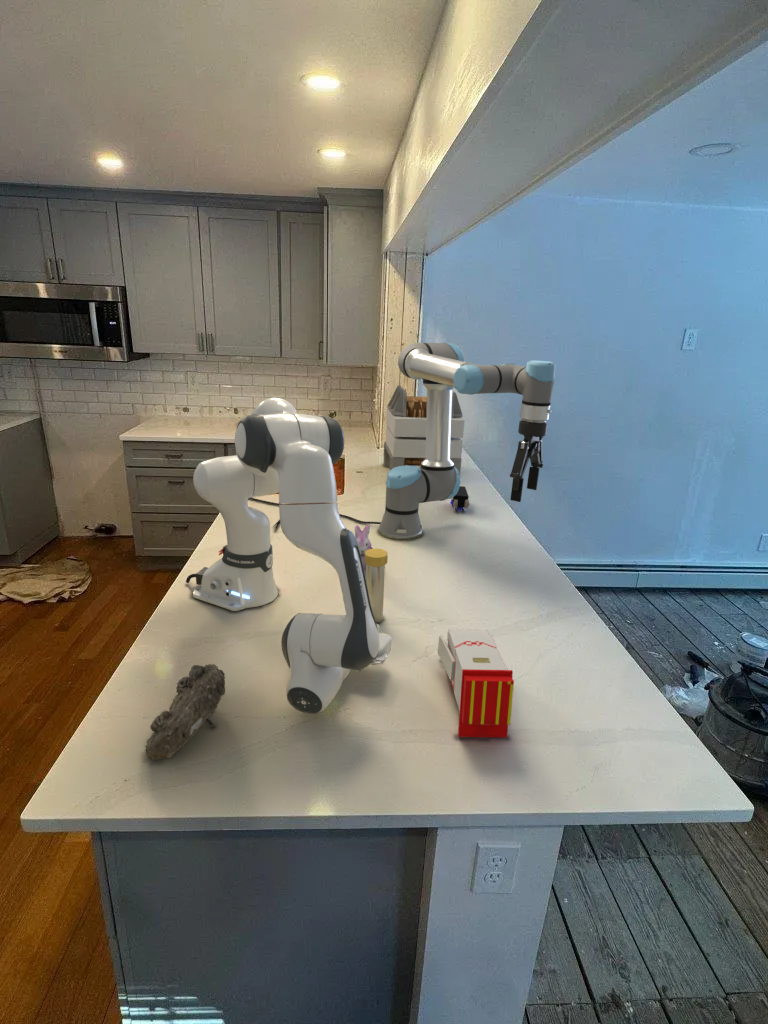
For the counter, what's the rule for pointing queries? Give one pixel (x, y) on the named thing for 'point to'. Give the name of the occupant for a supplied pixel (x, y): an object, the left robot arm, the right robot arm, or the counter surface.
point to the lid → (376, 557)
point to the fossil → (186, 710)
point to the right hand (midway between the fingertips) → (523, 494)
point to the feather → (276, 524)
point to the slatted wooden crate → (416, 431)
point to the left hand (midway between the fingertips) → (356, 622)
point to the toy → (478, 682)
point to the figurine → (363, 542)
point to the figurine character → (460, 499)
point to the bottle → (376, 590)
